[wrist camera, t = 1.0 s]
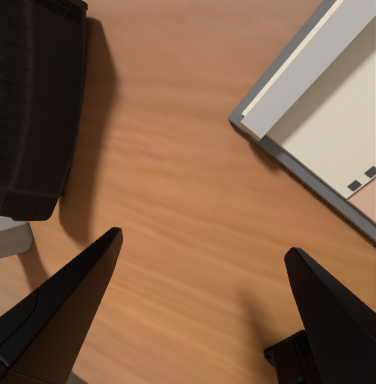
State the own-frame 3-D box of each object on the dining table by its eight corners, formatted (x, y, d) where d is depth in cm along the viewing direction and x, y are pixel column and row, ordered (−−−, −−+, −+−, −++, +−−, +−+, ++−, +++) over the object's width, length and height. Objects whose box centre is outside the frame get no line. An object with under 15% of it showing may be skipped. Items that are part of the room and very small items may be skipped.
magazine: (-17, -121, 14) (-197, 212, 12) (8, -125, 13) (-181, 230, 11) (114, 63, 30) (44, 214, 29) (128, 66, 30) (57, 221, 28)
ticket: (494, 79, 12) (510, 74, 11) (342, 197, 16) (347, 199, 15) (347, -11, 14) (353, -20, 13) (241, 115, 17) (241, 113, 16)
